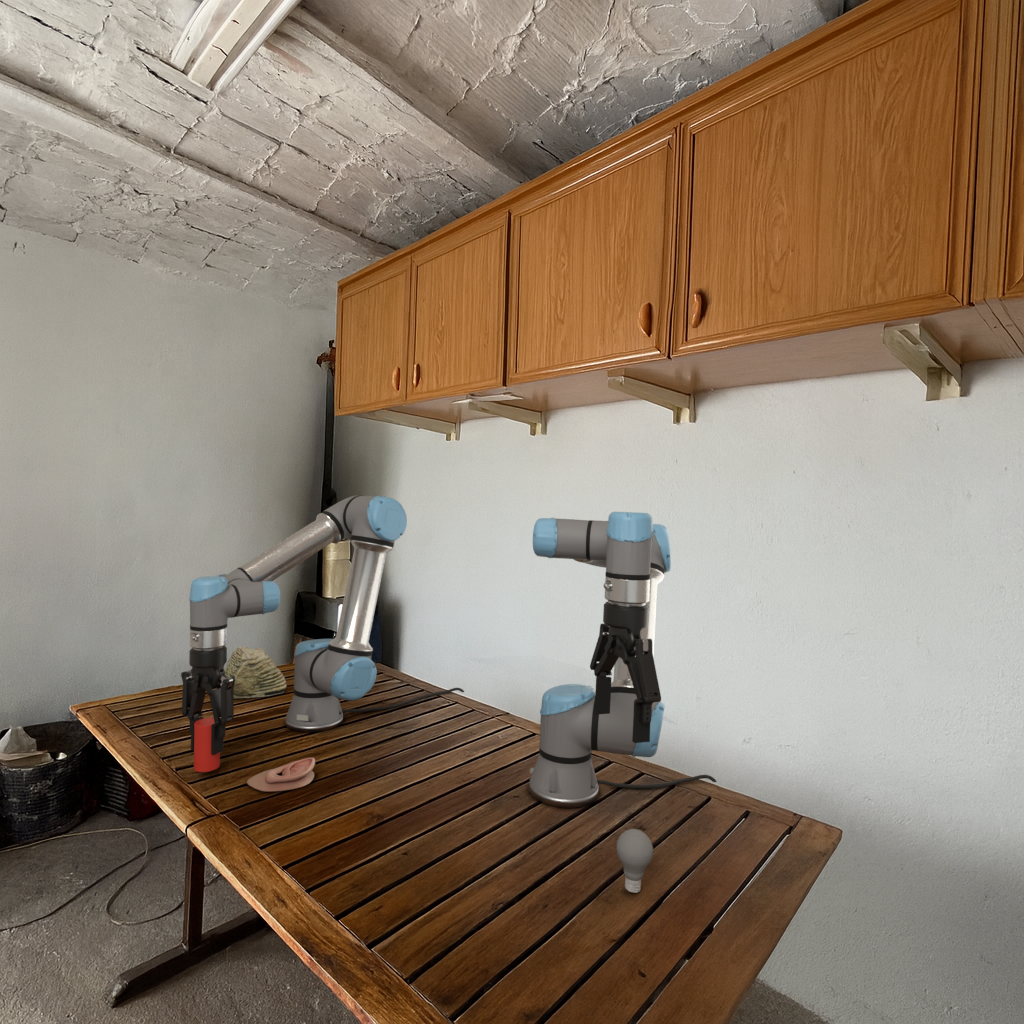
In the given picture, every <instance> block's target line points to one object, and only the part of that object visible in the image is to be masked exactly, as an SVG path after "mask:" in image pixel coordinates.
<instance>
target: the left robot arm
mask: <svg viewBox="0 0 1024 1024" xmlns="http://www.w3.org/2000/svg"><path fill="white" fill-rule="evenodd" d="M407 524H408V518H407V514H406V510H405V508H404V506H403V505H402V504H401V503H400V502H399V501H398V500H397V499H395V498H393V497H389V496H384V495H360V494H357V495H352V496H349V497H346V498H343V499H342V500H340V501H337V502H336V503H334V504H333V505H331V506H329V507H328V508H326V509H325V510H323V511H322V512H320V513H318V514H317V515H316V519H315V520H313V521H311V523H309V524H307V525H305V526H304V527H302V528H301V529H299V530H298V531H296V532H294V533H293V534H291V535H290V536H288V537H286V538H284V539H282V540H281V541H280V542H278V543H277V544H275V545H273V546H271V547H270V548H269V549H266V550H265V551H263V552H262V553H260V554H259V555H257V556H255V557H254V558H252V559H250V560H248V561H247V562H246V563H244V564H242V565H241V566H239V567H237V568H236V569H233V570H231V571H230V572H229V573H223V574H222V573H221V574H217V575H214V576H200V577H197V578H196V577H195V578H194V579H193V580H192V581H191V583H190V589H189V590H190V591H189V597H188V598H189V647H190V650H189V652H188V653H189V656H188V657H189V658H188V663H189V666H190V667H191V669H189V670H185V671H182V672H181V673H180V677H181V681H182V693H181V694H182V695H181V696H182V697H181V715H182V716H183V717H187V719H188V720H189V733H190V750H191V751H194V723H195V722H196V721H198V720H200V719H204V718H205V717H203V715H204V713H202V711H203V706H204V704H205V703H204V701H205V698H206V695H207V696H209V700H210V701H209V702H210V706H211V711H212V716H213V717H212V718H214V722H215V723H214V724H212V730H211V754H212V755H215V754H217V753H219V752H220V753H222V752H223V751H224V745H225V743H224V741H225V740H224V739H225V738H226V730H227V729H226V724H227V723H229V722H232V721H234V717H235V716H234V714H235V713H234V712H235V709H234V707H235V705H234V703H235V700H234V699H235V698H234V693H233V687H234V684H235V680H236V679H235V677H228V676H227V675H225V665H226V664H227V662H228V648H227V644H228V619H229V618H231V619H232V618H237V617H247V616H255V615H265V614H269V613H274V612H276V611H277V610H278V609H279V607H280V604H281V597H282V596H281V589H280V587H279V585H278V584H277V583H276V582H275V580H276V579H278V578H280V577H281V576H283V575H284V574H286V573H287V572H289V571H290V570H292V569H293V568H295V567H296V566H298V565H300V564H301V563H303V562H304V561H305V560H307V559H309V558H311V557H312V556H314V555H315V554H317V553H318V552H319V551H321V550H323V549H324V548H326V547H327V546H329V545H330V544H335V545H336V544H339V543H340V542H341V541H343V540H345V539H348V538H349V539H350V543H351V545H352V546H353V555H352V559H351V564H350V569H349V573H348V577H347V583H346V588H345V593H344V597H343V602H342V607H341V611H340V616H339V621H338V625H337V630H336V634H335V637H334V638H318V639H308V640H304V641H300V642H299V643H297V644H296V646H295V650H294V655H293V657H294V672H293V673H294V674H293V695H292V696H293V697H292V699H291V702H290V704H289V708H288V711H287V713H286V715H285V726H286V728H287V729H289V730H291V731H294V732H295V731H296V732H301V733H316V732H325V731H329V730H332V729H335V728H337V727H339V726H340V725H342V723H343V722H344V714H343V713H367V712H375V711H376V712H377V711H383V710H387V709H392V708H396V707H397V708H398V707H400V706H403V705H408V704H410V703H414V702H417V701H419V700H422V699H426V698H429V697H433V696H438V695H443V694H448V693H451V692H455V691H459V692H460V693H465V690H464V689H462V688H460V687H453V688H450V689H446V690H442V691H436V692H431V693H427V694H422V695H419V696H417V697H413V698H411V699H407V700H404V701H402V702H401V701H400V702H398V703H393V704H388V705H385V706H377V707H370V708H349V709H346V708H345V709H342V706H341V702H340V700H344V701H349V702H353V701H357V700H359V699H361V698H363V697H364V696H365V695H366V694H368V693H369V692H370V691H371V689H372V688H373V687H374V685H375V682H376V680H377V675H378V671H377V666H376V665H375V662H374V661H373V660H372V655H373V651H374V648H373V647H372V646H371V644H370V638H371V637H370V636H371V631H372V628H373V622H374V616H375V611H376V606H377V602H378V598H379V597H378V596H379V592H380V587H381V582H382V576H383V572H384V568H385V563H386V558H387V554H388V553H389V552H391V551H393V550H394V546H395V541H397V540H398V539H399V540H400V539H401V536H403V535H404V534H405V531H406V529H407V526H408V525H407Z"/></svg>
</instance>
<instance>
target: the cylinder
mask: <svg viewBox="0 0 1024 1024" xmlns="http://www.w3.org/2000/svg"><path fill="white" fill-rule="evenodd" d="M214 723H215V722H214V717H204V719H200V720H198V721H196V722H195V723H194V750H193V771H195V772H198V773H208V772H213V771H215V770H217V769H218V768H219V767H220V765H221V752H219V753H217V754H215V755H212V754H211V730H212V724H214Z"/></svg>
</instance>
